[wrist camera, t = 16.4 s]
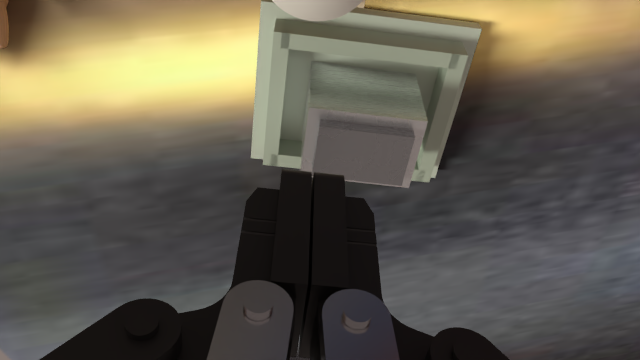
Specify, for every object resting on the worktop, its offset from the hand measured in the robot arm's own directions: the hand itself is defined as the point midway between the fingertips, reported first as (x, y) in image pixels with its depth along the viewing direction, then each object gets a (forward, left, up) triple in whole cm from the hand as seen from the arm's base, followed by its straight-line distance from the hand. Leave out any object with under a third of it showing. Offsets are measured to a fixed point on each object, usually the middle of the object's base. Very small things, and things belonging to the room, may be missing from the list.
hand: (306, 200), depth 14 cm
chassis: (-11, -4, -25) cm, 27 cm away
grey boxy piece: (-11, -4, -24) cm, 27 cm away
